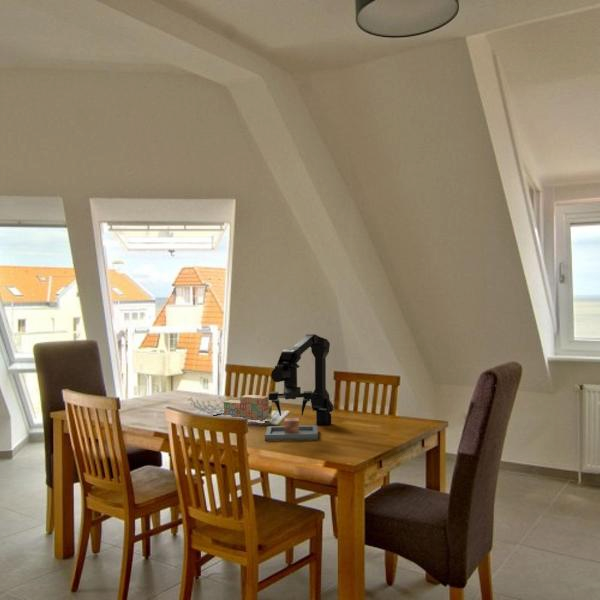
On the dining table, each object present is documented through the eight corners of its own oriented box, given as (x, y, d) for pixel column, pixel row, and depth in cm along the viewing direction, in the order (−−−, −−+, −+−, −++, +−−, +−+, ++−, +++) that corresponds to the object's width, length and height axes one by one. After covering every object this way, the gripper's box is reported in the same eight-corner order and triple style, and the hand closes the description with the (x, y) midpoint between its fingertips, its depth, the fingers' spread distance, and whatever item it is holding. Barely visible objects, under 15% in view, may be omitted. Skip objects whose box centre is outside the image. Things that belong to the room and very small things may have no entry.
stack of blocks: (223, 421, 288) (223, 395, 288) (230, 418, 294) (229, 393, 294) (263, 424, 280) (262, 397, 280) (269, 421, 286) (268, 395, 286)
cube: (284, 435, 252) (284, 421, 252) (285, 432, 258) (284, 418, 258) (298, 435, 252) (298, 420, 252) (298, 431, 258) (298, 418, 258)
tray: (264, 441, 247) (264, 435, 247) (267, 432, 263) (267, 426, 263) (317, 439, 247) (317, 433, 247) (317, 431, 263) (317, 425, 263)
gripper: (267, 382, 246) (268, 420, 247) (312, 381, 246) (313, 419, 246) (269, 378, 258) (269, 414, 258) (312, 377, 257) (313, 413, 257)
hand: (291, 415), depth 254 cm, fingers open, 9 cm apart
